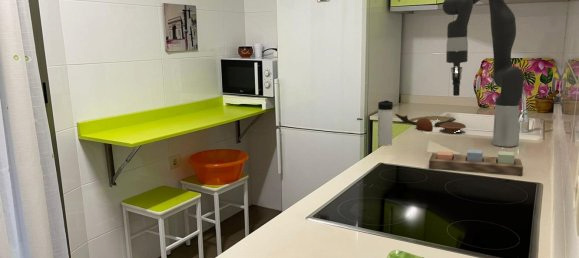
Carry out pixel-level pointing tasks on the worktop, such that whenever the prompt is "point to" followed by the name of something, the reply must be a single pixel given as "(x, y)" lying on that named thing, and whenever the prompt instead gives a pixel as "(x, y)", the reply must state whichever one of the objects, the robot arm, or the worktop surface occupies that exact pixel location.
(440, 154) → the terracotta button
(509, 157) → the sage green button
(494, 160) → the button panel
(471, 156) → the slate blue button
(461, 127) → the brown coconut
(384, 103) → the travel mug
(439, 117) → the tree branch
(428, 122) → the potato
